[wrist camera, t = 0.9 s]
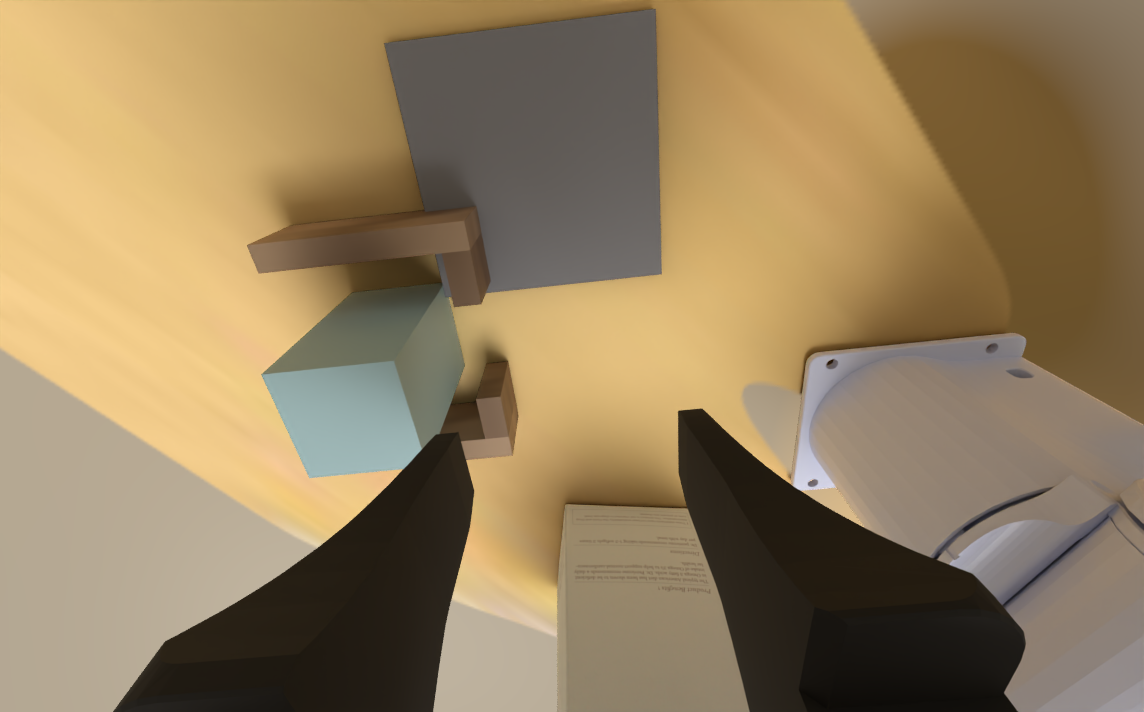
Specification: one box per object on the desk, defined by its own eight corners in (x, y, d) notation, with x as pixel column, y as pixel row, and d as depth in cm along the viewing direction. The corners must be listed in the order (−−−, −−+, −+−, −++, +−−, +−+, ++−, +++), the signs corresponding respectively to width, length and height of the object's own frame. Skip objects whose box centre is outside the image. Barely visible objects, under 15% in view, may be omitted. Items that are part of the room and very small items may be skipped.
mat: (653, 10, 16) (655, 8, 16) (659, 271, 20) (661, 274, 20) (388, 44, 16) (384, 42, 16) (447, 294, 21) (445, 297, 20)
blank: (444, 282, 20) (393, 360, 14) (465, 365, 22) (427, 466, 16) (352, 292, 21) (261, 374, 14) (379, 373, 22) (309, 477, 16)
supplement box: (554, 590, 30) (549, 888, 18) (564, 499, 26) (564, 796, 15) (674, 595, 30) (740, 889, 19) (698, 505, 27) (797, 800, 15)
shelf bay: (478, 204, 19) (464, 220, 16) (518, 415, 24) (512, 455, 21) (290, 225, 19) (246, 245, 17) (366, 430, 24) (342, 471, 21)
